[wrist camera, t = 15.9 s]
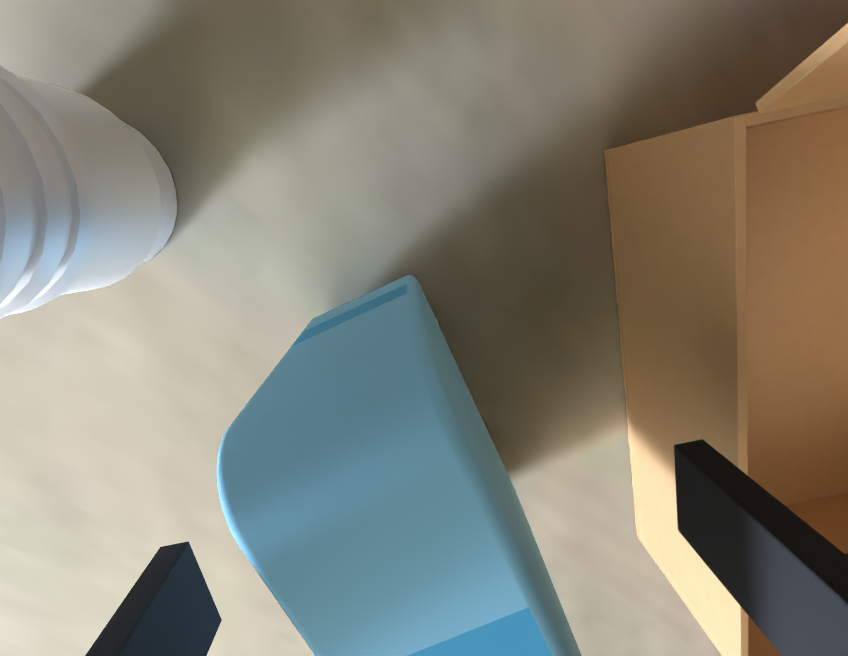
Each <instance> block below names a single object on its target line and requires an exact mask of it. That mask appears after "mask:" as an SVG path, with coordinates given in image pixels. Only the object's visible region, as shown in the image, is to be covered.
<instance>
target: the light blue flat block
mask: <svg viewBox="0 0 848 656" xmlns="http://www.w3.org/2000/svg"><path fill="white" fill-rule="evenodd" d="M217 484H218V491H219V497H220V501H221V506H222V509H223V512H224V516H225V518H226V521H227V523H228V526H229V528H230V530H231V532H232V534H233V536H234V538H235V540H236V542H237V543H238V545H239V547H240V548H241V550H242V551H243V552H244V554H245V555H246V557H247V558H248V560H249V561H250V563H251V564H252V565H253V567H254V568H255V570H256V571H257V573H258V574H259V576H260V577H261V578H262V580H263V581H264V583H265V584H266V586H267V587H268V588H269V590H270V591H271V593H272V594H273V596H274V597H275V599H276V600H277V601H278V603H279V604H280V606H281V607H282V609H283V610H284V611H285V613H286V614H287V616H288V617H289V619H290V620H291V622H292V623H293V624H294V626H295V627H296V629H297V630H298V632H299V633H300V634H301V636H302V637H303V639H304V640H305V642H306V643H307V645H308V646H309V647H310V649H311V650H312V652H313V653H314V655H315V656H581V653H580V651H579V648H578V646H577V643H576V641H575V638H574V636H573V633H572V631H571V628H570V626H569V623H568V621H567V618H566V616H565V613H564V611H563V608H562V606H561V603H560V601H559V598H558V596H557V593H556V591H555V588H554V586H553V583H552V581H551V578H550V576H549V573H548V571H547V568H546V566H545V563H544V561H543V558H542V556H541V553H540V551H539V548H538V546H537V543H536V541H535V538H534V536H533V533H532V531H531V528H530V526H529V523H528V521H527V518H526V516H525V513H524V511H523V508H522V506H521V504H520V501H519V499H518V496H517V494H516V492H515V489H514V487H513V485H512V483H511V480H510V478H509V476H508V474H507V471H506V469H505V467H504V465H503V463H502V461H501V458H500V456H499V454H498V452H497V450H496V448H495V446H494V443H493V441H492V439H491V437H490V435H489V433H488V430H487V428H486V426H485V424H484V422H483V420H482V417H481V415H480V413H479V411H478V409H477V407H476V404H475V402H474V400H473V398H472V396H471V394H470V392H469V389H468V387H467V385H466V383H465V381H464V379H463V376H462V374H461V372H460V370H459V368H458V366H457V363H456V361H455V359H454V357H453V355H452V353H451V350H450V348H449V346H448V344H447V342H446V340H445V337H444V335H443V333H442V331H441V329H440V327H439V325H438V322H437V320H436V318H435V316H434V314H433V312H432V309H431V307H430V305H429V303H428V301H427V299H426V297H425V294H424V292H423V290H422V288H421V286H420V284H419V283H418V281H417V279H416V278H415V277H414V276H412V275H407V276H404V277H402V278H400V279H398V280H396V281H394V282H391V283H389V284H387V285H385V286H383V287H381V288H378V289H376V290H374V291H372V292H370V293H368V294H365V295H363V296H361V297H359V298H357V299H355V300H352V301H350V302H348V303H346V304H344V305H342V306H339V307H337V308H335V309H333V310H331V311H329V312H326V313H324V314H322V315H320V316H318V317H316V318H314V319H312V320H311V322H310V323H309V324H308V325H307V327H306V328H305V329H304V331H303V332H302V333H301V334H300V336H299V337H298V338H297V340H296V341H295V342H294V344H293V345H292V346H291V347H290V349H289V350H288V351H287V353H286V354H285V355H284V357H283V358H282V359H281V360H280V362H279V363H278V364H277V366H276V367H275V368H274V370H273V371H272V372H271V373H270V375H269V376H268V377H267V379H266V380H265V381H264V383H263V384H262V385H261V386H260V388H259V389H258V390H257V392H256V393H255V394H254V396H253V397H252V398H251V399H250V401H249V402H248V403H247V405H246V406H245V407H244V408H243V410H242V411H241V412H240V414H239V415H238V416H237V418H236V419H235V420H234V421H233V423H232V424H231V425H230V427H229V428H228V430H227V431H226V433H225V434H224V437H223V439H222V441H221V444H220V448H219V452H218V459H217Z"/></svg>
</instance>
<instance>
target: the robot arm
mask: <svg viewBox="0 0 848 656" xmlns="http://www.w3.org/2000/svg"><path fill="white" fill-rule="evenodd" d="M674 459H675V481H676V503H677V525H678V531H679V532H680V533H681V535H682V536H683V537H684V538H685V540H686V541H687V542H688V543H689V544H690V546H691V547H692V548H693V549H694V550H695V552H696V553H697V554H698V555H699V556H700V558H701V559H702V560H703V561H704V563H705V564H706V565H707V566H708V567H709V569H710V570H711V571H712V572H713V573H714V575H715V576H716V577H717V578H718V579H719V581H720V582H721V583H722V584H723V586H724V587H725V588H726V589H727V590H728V592H729V593H730V594H731V595H732V596H733V598H734V599H735V600H736V601H737V602H738V604H739V605H740V606H741V607H742V609H743V610H744V611H745V612H746V613H747V615H748V616H749V617H750V618H751V619H752V621H753V622H754V623H755V624H756V625H757V627H758V628H759V629H760V630H761V632H762V633H763V634H764V635H765V636H766V638H767V639H768V640H769V641H770V642H771V644H772V645H773V646H774V647H775V648H776V650H777V651H778V652H779V653H780V655H781V656H848V553H845V554H844V553H843V552H842V551H841V550H839V549H838V548H837V547H836V546H834V545H833V544H832V543H831V542H829V541H828V540H827V539H826V538H824V537H823V536H822V535H821V534H820V533H818V532H817V531H816V530H815V529H813V528H812V527H811V526H810V525H808V524H807V523H806V522H805V521H803V520H802V519H801V518H800V517H798V516H797V515H796V514H795V513H793V512H792V511H791V510H790V509H789V508H787V507H786V506H785V505H784V504H782V503H781V502H780V501H779V500H777V499H776V498H775V497H774V496H772V495H771V494H770V493H769V492H767V491H766V490H765V489H764V488H762V487H761V486H760V485H759V484H758V483H756V482H755V481H754V480H753V479H751V478H750V477H749V476H748V475H746V474H745V473H744V472H743V471H741V470H740V469H739V468H738V467H736V466H735V465H734V464H733V463H732V462H730V461H729V460H728V459H727V458H725V457H724V456H723V455H722V454H720V453H719V452H718V451H717V450H715V449H714V448H713V447H712V446H710V445H709V444H708V443H707V442H705V441H704V440H703V439H701V440H696V441H691V442H686V443H681V444H676V445H674ZM220 623H221V617H220V615H219V613H218V610H217V608H216V606H215V603H214V601H213V598H212V596H211V594H210V591H209V589H208V587H207V584H206V582H205V579H204V577H203V575H202V572H201V570H200V568H199V565H198V563H197V561H196V558H195V556H194V553H193V551H192V549H191V546H190V544H189V542H184V543H179V544H174V545H169V546H164V547H160V549H159V550H158V551H157V553H156V554H155V556H154V557H153V559H152V560H151V562H150V563H149V564H148V566H147V567H146V569H145V570H144V572H143V573H142V575H141V576H140V577H139V579H138V580H137V582H136V583H135V585H134V586H133V588H132V589H131V590H130V592H129V593H128V595H127V596H126V598H125V599H124V601H123V602H122V603H121V605H120V606H119V608H118V609H117V611H116V612H115V614H114V615H113V616H112V618H111V619H110V621H109V622H108V624H107V625H106V627H105V628H104V629H103V631H102V632H101V634H100V635H99V637H98V638H97V640H96V641H95V642H94V644H93V645H92V647H91V648H90V650H89V651H88V653H87V654H86V655H85V656H206V655H207V653H208V650H209V648H210V646H211V644H212V641H213V639H214V637H215V634H216V632H217V630H218V627H219V625H220Z"/></svg>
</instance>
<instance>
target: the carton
mask: <svg viewBox="0 0 848 656" xmlns="http://www.w3.org/2000/svg"><path fill="white" fill-rule="evenodd" d="M604 154H605V166H606V178H607V190H608V201H609V213H610V225H611V237H612V249H613V261H614V272H615V284H616V296H617V308H618V320H619V332H620V343H621V355H622V367H623V379H624V391H625V402H626V414H627V426H628V438H629V450H630V462H631V473H632V485H633V497H634V509H635V521H636V533H637V537H638V538H639V539H640V541H641V542H642V544H643V545H644V547H645V548H646V549H647V551H648V552H649V554H650V555H651V556H652V558H653V559H654V561H655V562H656V563H657V565H658V566H659V568H660V569H661V571H662V572H663V573H664V575H665V576H666V578H667V579H668V580H669V582H670V583H671V585H672V586H673V587H674V589H675V590H676V592H677V593H678V594H679V596H680V597H681V599H682V600H683V601H684V603H685V604H686V606H687V607H688V609H689V610H690V611H691V613H692V614H693V616H694V617H695V618H696V620H697V621H698V623H699V624H700V625H701V627H702V628H703V630H704V631H705V632H706V634H707V635H708V637H709V638H710V639H711V641H712V642H713V644H714V645H715V646H716V648H717V649H718V651H719V652H720V654H721V655H722V656H781V655H780V653H779V652H778V651H777V650H776V648H775V647H774V646H773V645H772V644H771V642H770V641H769V640H768V639H767V638H766V636H765V635H764V634H763V633H762V632H761V630H760V629H759V628H758V627H757V625H756V624H755V623H754V622H753V621H752V619H751V618H750V617H749V616H748V615H747V613H746V612H745V611H744V610H743V609H742V607H741V606H740V605H739V604H738V602H737V601H736V600H735V599H734V598H733V596H732V595H731V594H730V593H729V592H728V590H727V589H726V588H725V587H724V586H723V584H722V583H721V582H720V581H719V579H718V578H717V577H716V576H715V575H714V573H713V572H712V571H711V570H710V569H709V567H708V566H707V565H706V564H705V563H704V561H703V560H702V559H701V558H700V556H699V555H698V554H697V553H696V552H695V550H694V549H693V548H692V547H691V546H690V544H689V543H688V542H687V541H686V540H685V538H684V537H683V536H682V535H681V533H680V532H679V531H678V525H677V503H676V481H675V459H674V445H676V444H681V443H686V442H691V441H696V440H701V439H703V440H704V441H705V442H707V443H708V444H709V445H710V446H712V447H713V448H714V449H715V450H717V451H718V452H719V453H720V454H722V455H723V456H724V457H725V458H727V459H728V460H729V461H730V462H732V463H733V464H734V465H735V466H736V467H738V468H739V469H740V470H741V471H743V472H744V473H745V474H746V475H748V476H749V477H750V478H751V479H753V480H754V481H755V482H756V483H758V484H759V485H760V486H761V487H762V488H764V489H765V490H766V491H767V492H769V493H770V494H771V495H772V496H774V497H775V498H776V499H777V500H779V501H780V502H781V503H782V504H784V505H785V506H786V507H787V508H789V509H790V510H791V511H792V512H793V513H795V514H796V515H797V516H798V517H800V518H801V519H802V520H803V521H805V522H806V523H807V524H808V525H810V526H811V527H812V528H813V529H815V530H816V531H817V532H818V533H820V534H821V535H822V536H823V537H824V538H826V539H827V540H828V541H829V542H831V543H832V544H833V545H834V546H836V547H837V548H838V549H839V550H841V551H842V552H843V553H844V554H845V553H848V96H843V97H838V98H834V99H829V100H824V101H819V102H814V103H809V104H805V105H800V106H795V107H790V108H785V109H780V110H776V111H771V112H766V113H761V114H759V113H758V111H755V112H750V113H746V114H741V115H736V116H732V117H728V118H724V119H721V120H717V121H713V122H709V123H706V124H702V125H698V126H694V127H691V128H687V129H683V130H679V131H676V132H672V133H668V134H664V135H660V136H657V137H653V138H649V139H645V140H642V141H638V142H634V143H630V144H627V145H623V146H619V147H615V148H612V149H608V150H605V151H604Z"/></svg>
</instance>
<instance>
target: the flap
mask: <svg viewBox="0 0 848 656" xmlns="http://www.w3.org/2000/svg"><path fill="white" fill-rule="evenodd" d="M843 96H848V23H847V24H846V25H845V26H844V27H842V28H841V29H840V30H839V31H838V32H837V33H835V34H834V35H833V36H832V37H831V38H830V39H828V40H827V41H826V42H825V43H824V44H823V45H822V46H820V47H819V48H818V49H817V50H816V51H815V52H813V53H812V54H811V55H810V56H809V57H808V58H806V59H805V60H804V61H803V62H802V63H801V64H800V65H798V66H797V67H796V68H795V69H794V70H793V71H791V72H790V73H789V74H788V75H787V76H786V77H784V78H783V79H782V80H781V81H780V82H779V83H778V84H776V85H775V86H774V87H773V88H772V89H771V90H769V91H768V92H767V93H766V94H765V95H764V96H762V97H761V98H760V99H759V100H758V101H757V102H756V107H757V110H758V113H759V114H761V113H766V112H771V111H776V110H780V109H785V108H790V107H795V106H800V105H805V104H809V103H814V102H819V101H824V100H829V99H834V98H838V97H843Z"/></svg>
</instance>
